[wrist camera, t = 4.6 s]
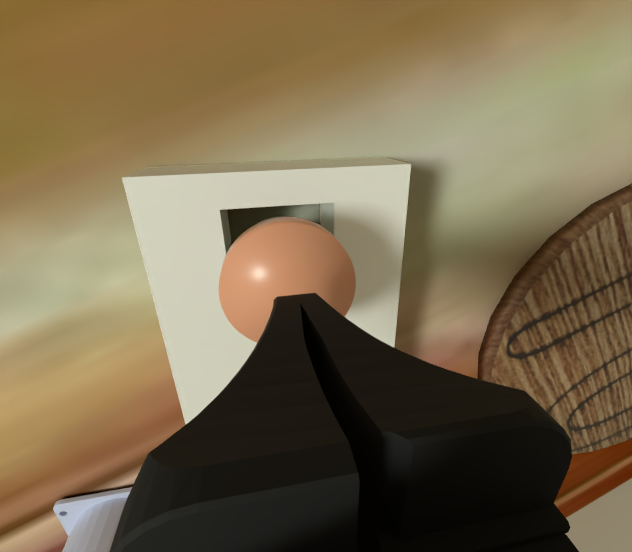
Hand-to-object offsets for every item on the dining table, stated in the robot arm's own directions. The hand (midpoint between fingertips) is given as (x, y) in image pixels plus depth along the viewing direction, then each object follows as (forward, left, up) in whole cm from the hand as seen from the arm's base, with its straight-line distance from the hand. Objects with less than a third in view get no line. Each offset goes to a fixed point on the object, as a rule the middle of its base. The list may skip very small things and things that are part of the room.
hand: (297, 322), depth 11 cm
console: (-6, 0, -9) cm, 11 cm away
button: (0, 0, -6) cm, 6 cm away
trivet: (-10, -27, -10) cm, 30 cm away
